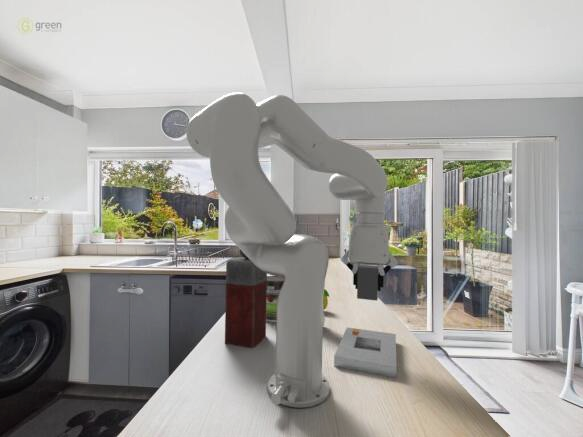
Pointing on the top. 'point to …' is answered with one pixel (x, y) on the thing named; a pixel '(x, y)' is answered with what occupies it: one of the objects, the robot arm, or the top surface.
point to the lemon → (325, 299)
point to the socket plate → (367, 352)
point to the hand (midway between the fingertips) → (368, 288)
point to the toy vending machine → (245, 303)
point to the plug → (367, 282)
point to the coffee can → (273, 297)
